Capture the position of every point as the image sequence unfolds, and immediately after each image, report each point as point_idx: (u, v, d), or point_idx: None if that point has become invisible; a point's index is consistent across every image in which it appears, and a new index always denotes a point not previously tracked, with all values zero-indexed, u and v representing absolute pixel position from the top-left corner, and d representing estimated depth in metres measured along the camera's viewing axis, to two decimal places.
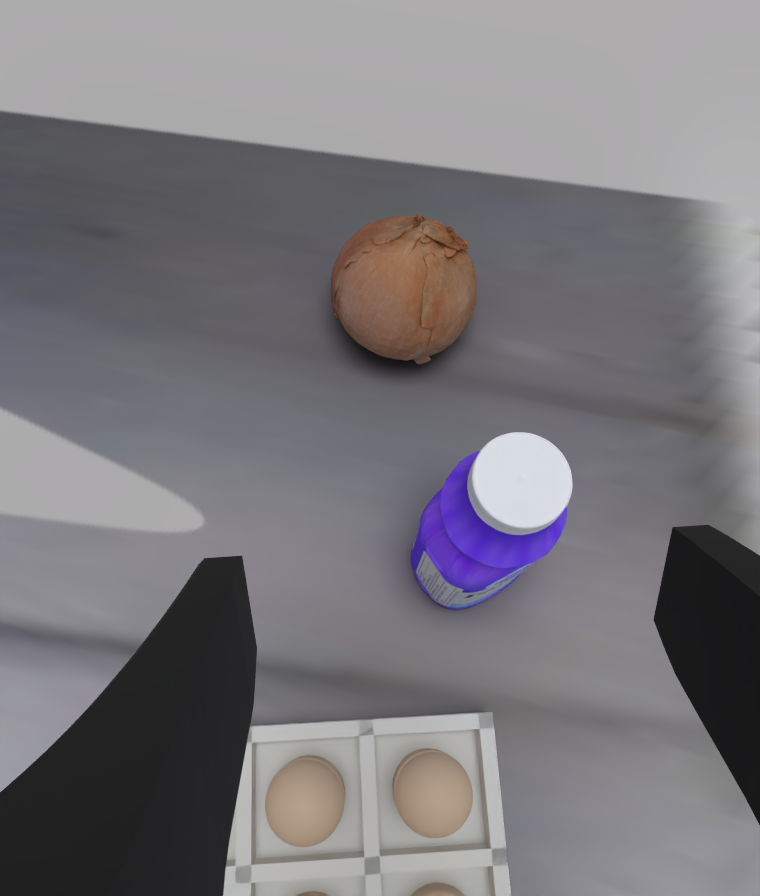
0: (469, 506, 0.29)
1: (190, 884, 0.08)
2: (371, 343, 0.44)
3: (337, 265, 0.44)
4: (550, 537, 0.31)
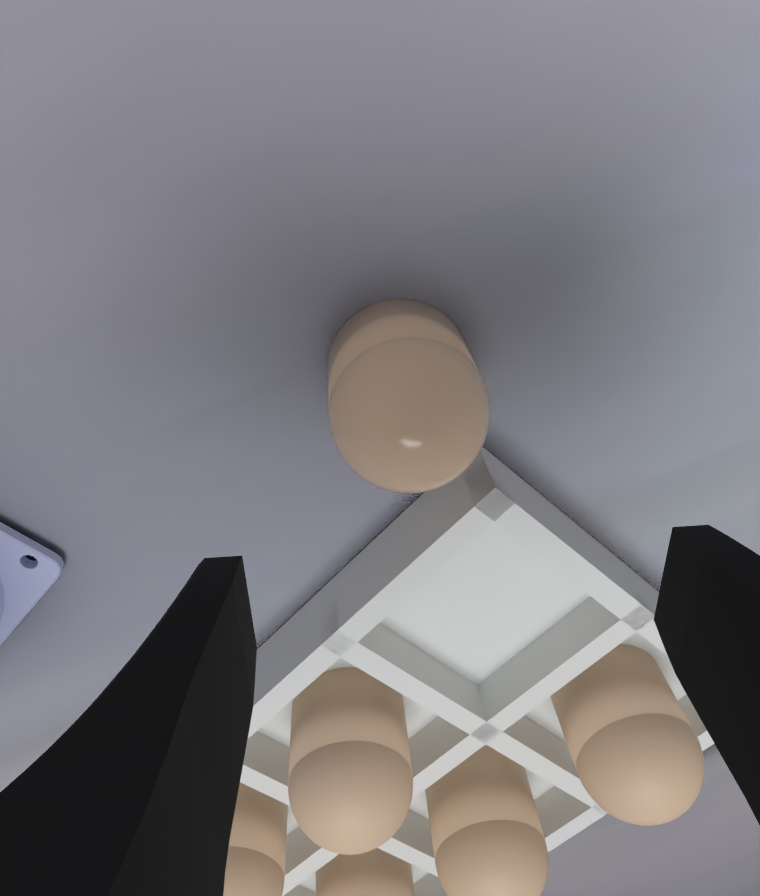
0: None
1: (190, 884, 0.08)
2: None
3: None
4: None
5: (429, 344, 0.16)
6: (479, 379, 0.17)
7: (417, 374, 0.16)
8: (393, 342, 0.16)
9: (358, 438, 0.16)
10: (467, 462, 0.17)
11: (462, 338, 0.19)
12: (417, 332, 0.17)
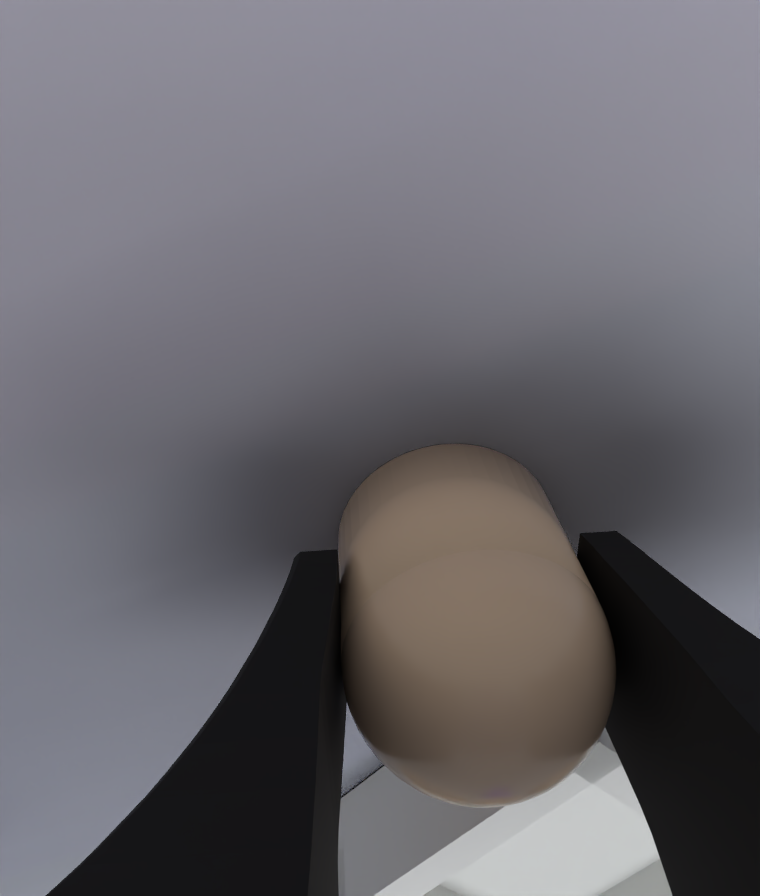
0: None
1: (329, 872, 0.08)
2: None
3: None
4: None
5: (521, 568, 0.09)
6: (603, 623, 0.10)
7: (505, 638, 0.09)
8: (457, 562, 0.09)
9: (395, 739, 0.09)
10: (580, 764, 0.10)
11: (552, 508, 0.12)
12: (496, 535, 0.10)
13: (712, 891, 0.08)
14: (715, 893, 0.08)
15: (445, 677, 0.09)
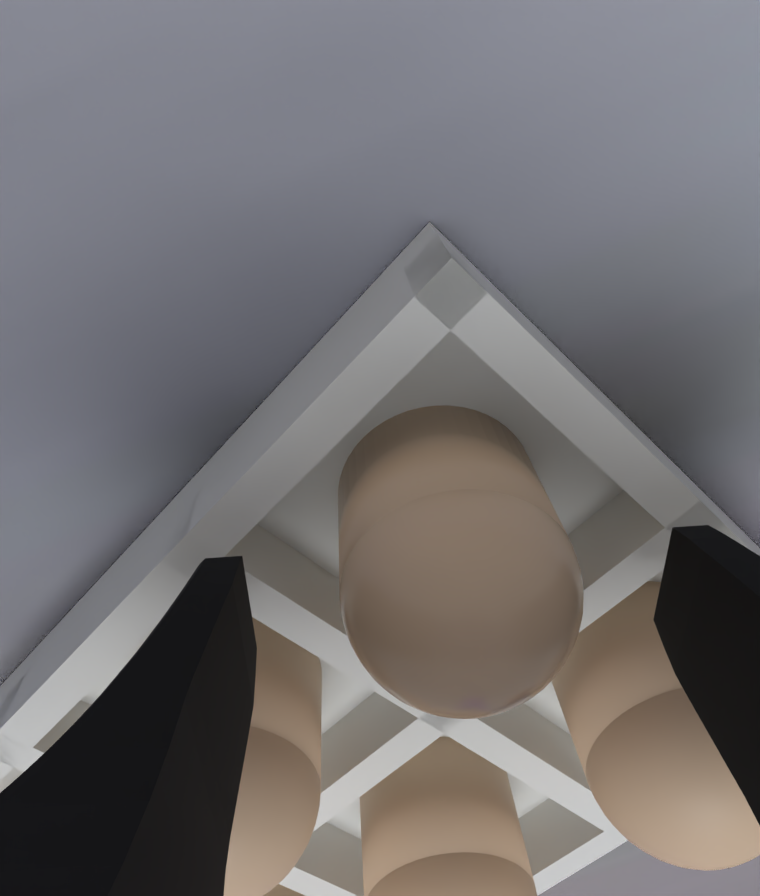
0: None
1: (191, 884, 0.08)
2: None
3: None
4: None
5: (497, 504, 0.11)
6: (571, 554, 0.11)
7: (482, 561, 0.10)
8: (441, 499, 0.11)
9: (386, 653, 0.10)
10: (551, 680, 0.11)
11: (531, 463, 0.13)
12: (476, 478, 0.11)
13: None
14: None
15: (429, 595, 0.10)
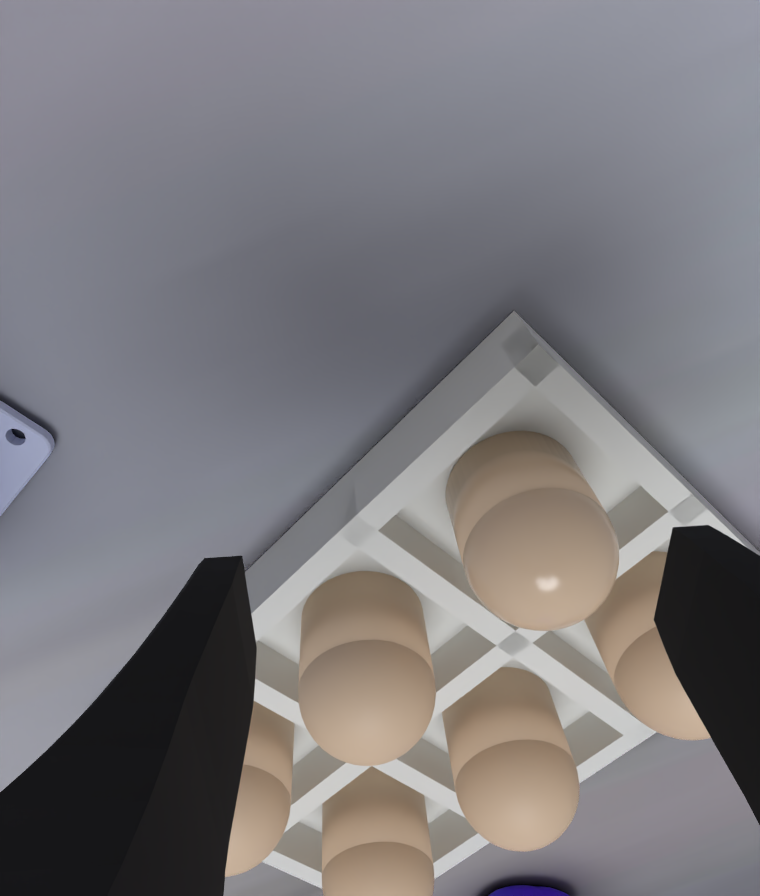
0: None
1: (190, 884, 0.08)
2: None
3: None
4: None
5: (566, 497, 0.17)
6: (611, 526, 0.18)
7: (560, 531, 0.17)
8: (531, 494, 0.17)
9: (502, 588, 0.17)
10: (600, 605, 0.18)
11: None
12: (550, 481, 0.18)
13: None
14: None
15: (529, 552, 0.17)
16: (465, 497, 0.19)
